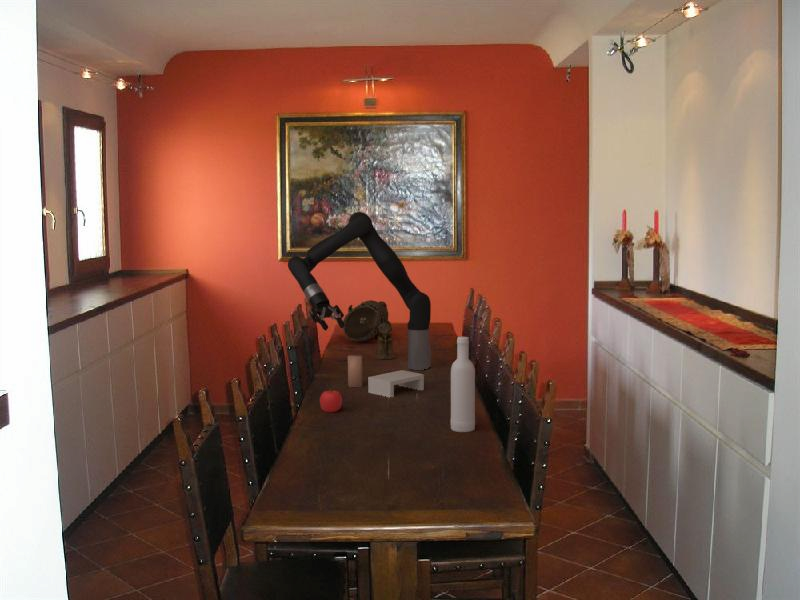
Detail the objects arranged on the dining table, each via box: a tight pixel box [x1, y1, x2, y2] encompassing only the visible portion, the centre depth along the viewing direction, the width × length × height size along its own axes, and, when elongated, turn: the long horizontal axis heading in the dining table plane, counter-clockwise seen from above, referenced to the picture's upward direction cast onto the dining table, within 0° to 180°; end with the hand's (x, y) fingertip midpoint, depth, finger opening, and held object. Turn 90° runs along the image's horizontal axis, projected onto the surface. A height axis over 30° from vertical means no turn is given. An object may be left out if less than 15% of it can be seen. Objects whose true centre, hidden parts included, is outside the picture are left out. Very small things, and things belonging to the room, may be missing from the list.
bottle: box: [450, 336, 476, 433], centre depth 286 cm, size 8×8×30 cm
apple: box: [319, 388, 343, 413], centre depth 312 cm, size 8×8×8 cm
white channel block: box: [367, 369, 425, 398], centre depth 342 cm, size 18×12×6 cm, turn 135°
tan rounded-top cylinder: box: [347, 354, 363, 389], centre depth 350 cm, size 6×6×12 cm
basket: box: [342, 300, 393, 342], centre depth 459 cm, size 24×22×35 cm
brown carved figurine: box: [374, 322, 396, 361], centre depth 405 cm, size 9×14×18 cm, turn 0°
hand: (335, 328), depth 357 cm, fingers open, 8 cm apart
